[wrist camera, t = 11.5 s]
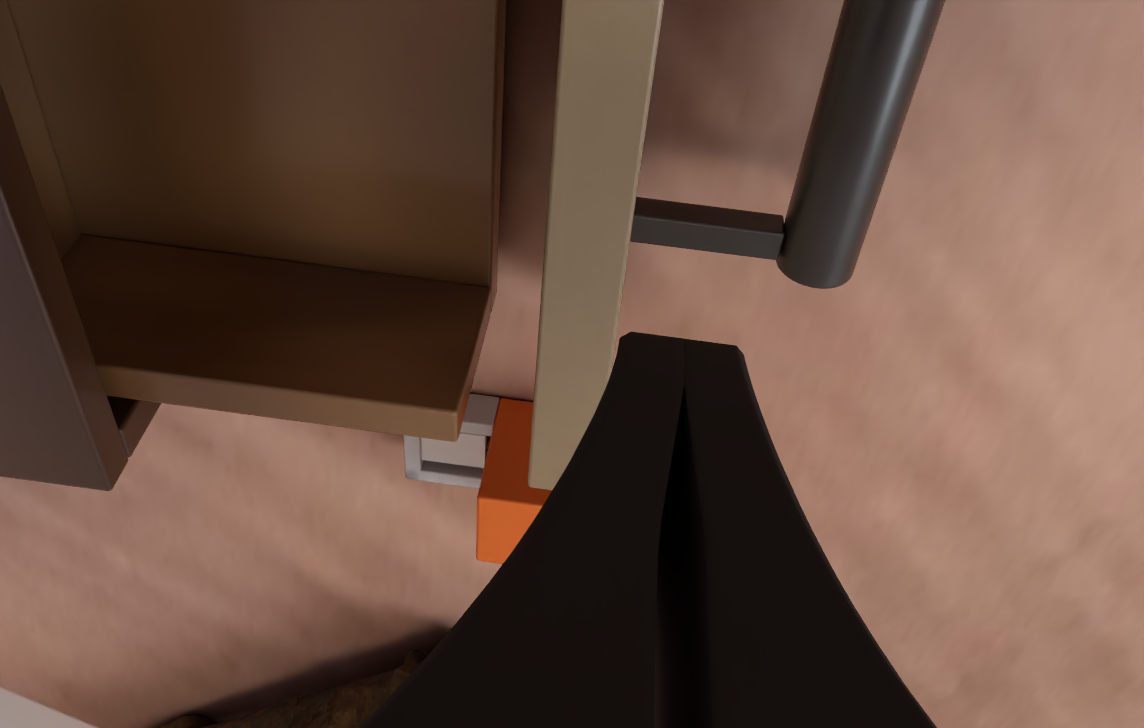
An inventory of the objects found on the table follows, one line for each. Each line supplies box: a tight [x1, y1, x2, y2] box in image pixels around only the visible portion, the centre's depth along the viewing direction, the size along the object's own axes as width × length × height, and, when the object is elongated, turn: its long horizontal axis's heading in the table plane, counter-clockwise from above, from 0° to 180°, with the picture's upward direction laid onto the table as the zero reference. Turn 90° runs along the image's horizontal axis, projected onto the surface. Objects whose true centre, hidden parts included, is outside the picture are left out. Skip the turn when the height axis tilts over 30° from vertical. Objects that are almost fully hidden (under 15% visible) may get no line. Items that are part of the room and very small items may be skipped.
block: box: [404, 394, 552, 564], centre depth 24 cm, size 6×2×3 cm, turn 86°
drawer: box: [0, 0, 945, 490], centre depth 16 cm, size 16×12×5 cm
